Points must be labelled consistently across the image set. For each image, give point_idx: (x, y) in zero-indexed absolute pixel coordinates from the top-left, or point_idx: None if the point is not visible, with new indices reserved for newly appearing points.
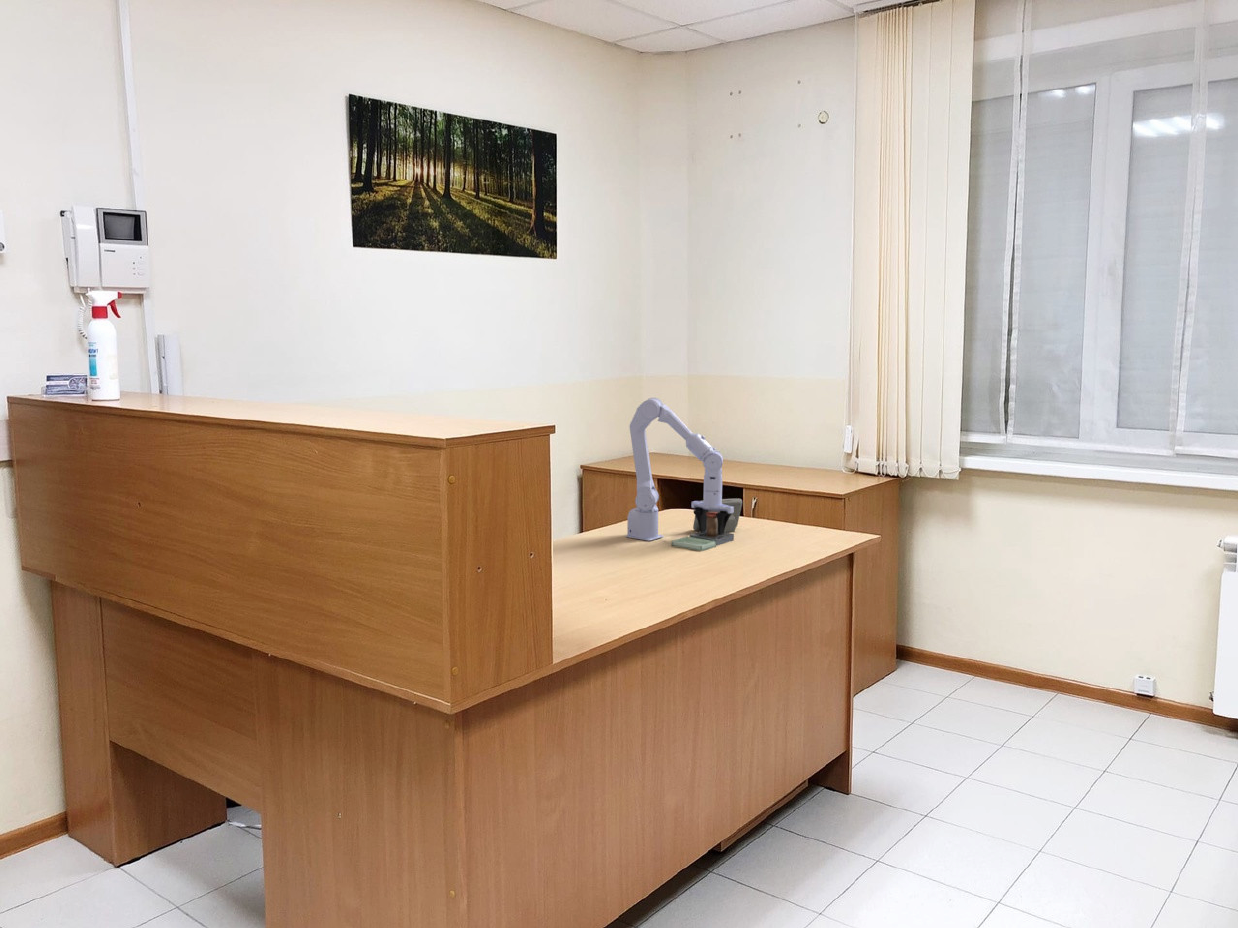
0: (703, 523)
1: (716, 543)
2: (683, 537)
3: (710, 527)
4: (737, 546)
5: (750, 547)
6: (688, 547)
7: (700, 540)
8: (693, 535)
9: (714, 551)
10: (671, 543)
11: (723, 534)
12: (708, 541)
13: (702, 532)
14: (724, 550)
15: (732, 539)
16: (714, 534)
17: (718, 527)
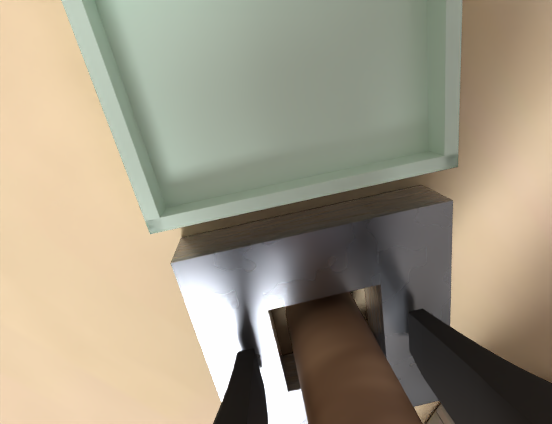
0: (455, 389)
1: (178, 246)
2: (457, 118)
3: (333, 366)
4: (84, 334)
5: (14, 378)
6: None
7: (298, 183)
8: (411, 208)
9: (6, 78)
10: None
11: (272, 396)
12: (216, 203)
13: None
14: (5, 179)
15: None
16: (295, 342)
17: (242, 401)
